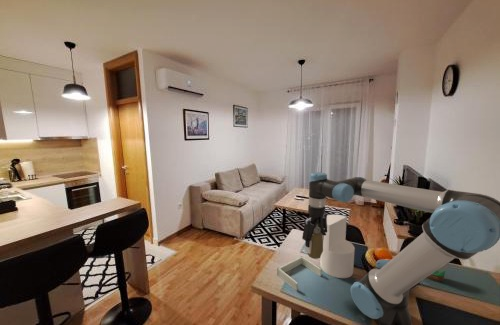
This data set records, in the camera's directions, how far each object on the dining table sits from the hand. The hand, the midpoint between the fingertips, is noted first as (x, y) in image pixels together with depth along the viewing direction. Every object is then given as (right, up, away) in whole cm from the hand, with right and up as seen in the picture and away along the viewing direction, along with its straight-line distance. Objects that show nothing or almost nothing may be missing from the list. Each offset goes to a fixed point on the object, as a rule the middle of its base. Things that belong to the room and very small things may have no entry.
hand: (314, 249), depth 101 cm
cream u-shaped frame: (-5, -19, +11) cm, 22 cm away
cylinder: (+18, -17, +17) cm, 30 cm away
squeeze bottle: (0, -3, +1) cm, 3 cm away
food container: (+64, -18, +7) cm, 67 cm away
